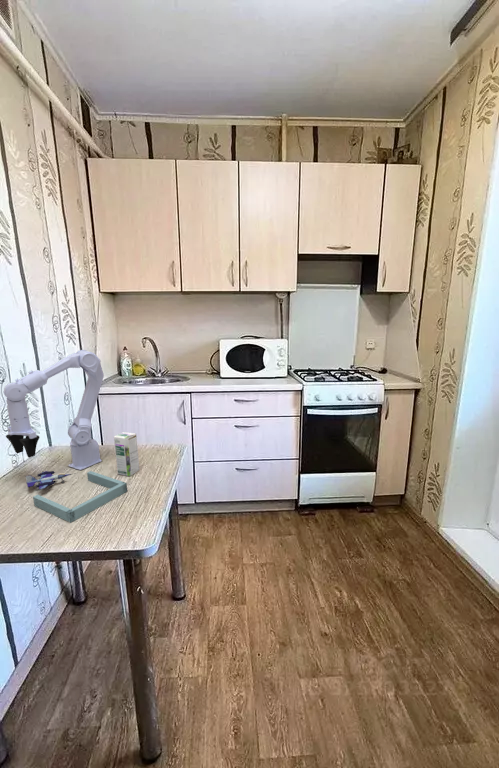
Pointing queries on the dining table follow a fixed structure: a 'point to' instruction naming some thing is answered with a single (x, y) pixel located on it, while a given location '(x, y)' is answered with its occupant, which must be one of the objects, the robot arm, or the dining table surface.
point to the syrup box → (126, 453)
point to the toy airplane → (45, 479)
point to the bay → (88, 506)
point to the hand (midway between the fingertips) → (25, 454)
